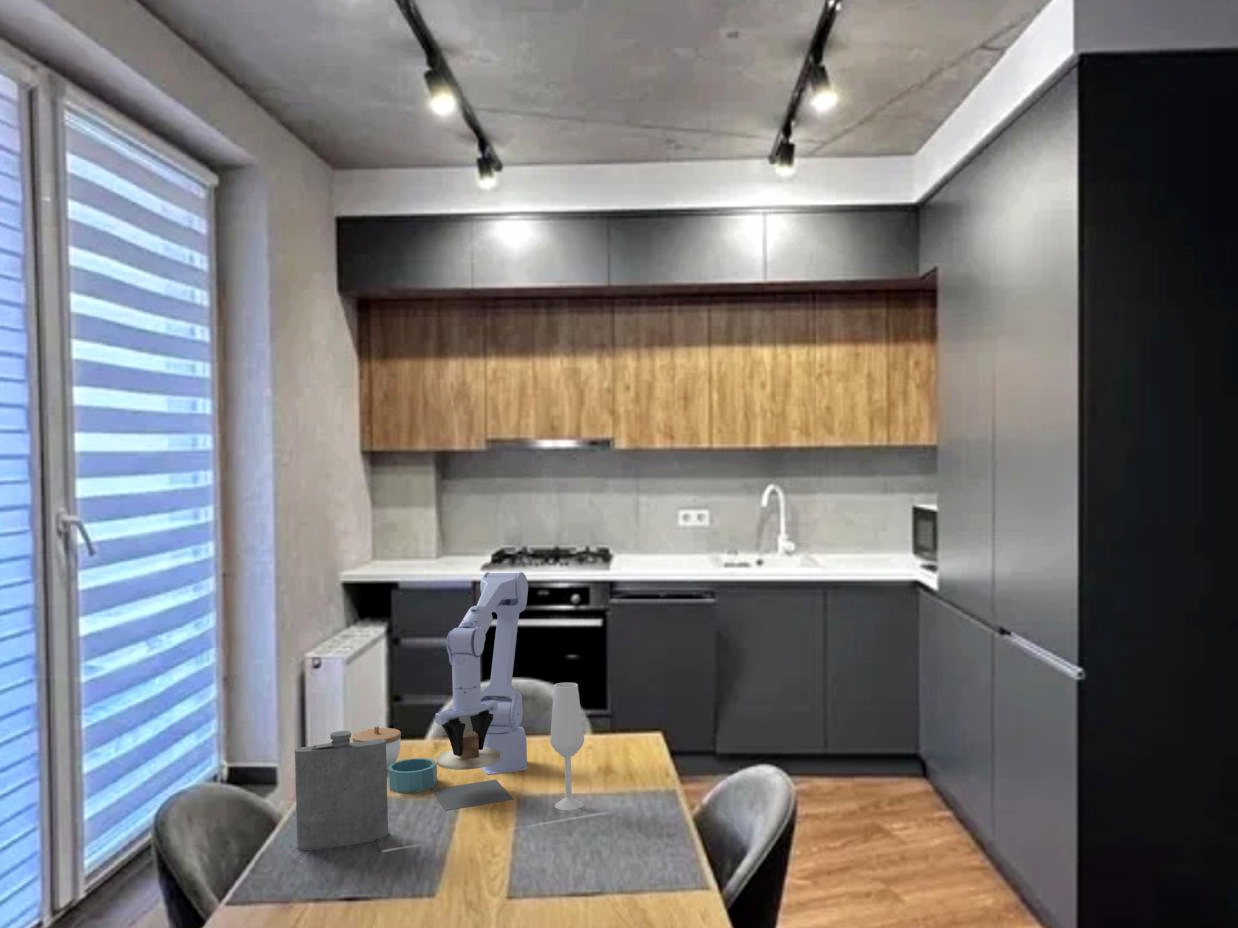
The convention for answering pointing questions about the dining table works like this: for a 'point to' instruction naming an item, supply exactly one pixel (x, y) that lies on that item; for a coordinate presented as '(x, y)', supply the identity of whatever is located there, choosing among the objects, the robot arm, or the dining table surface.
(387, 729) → the lidded jar
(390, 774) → the bowl
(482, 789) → the mat
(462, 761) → the lid
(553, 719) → the champagne flute
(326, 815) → the hip flask
